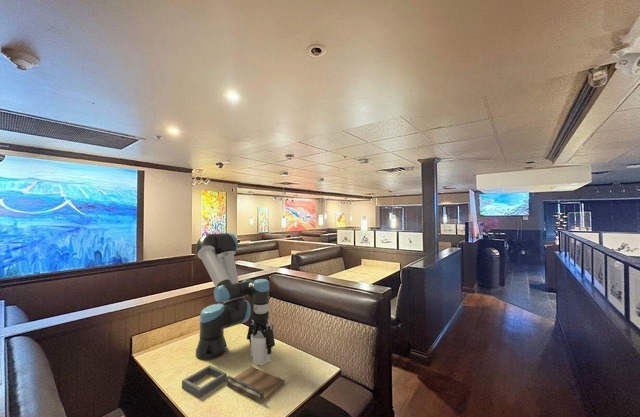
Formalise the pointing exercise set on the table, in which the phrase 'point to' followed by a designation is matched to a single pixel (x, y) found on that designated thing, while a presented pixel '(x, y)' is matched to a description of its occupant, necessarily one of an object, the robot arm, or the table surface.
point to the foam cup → (258, 348)
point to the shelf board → (255, 384)
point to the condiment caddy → (200, 392)
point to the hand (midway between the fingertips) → (260, 357)
